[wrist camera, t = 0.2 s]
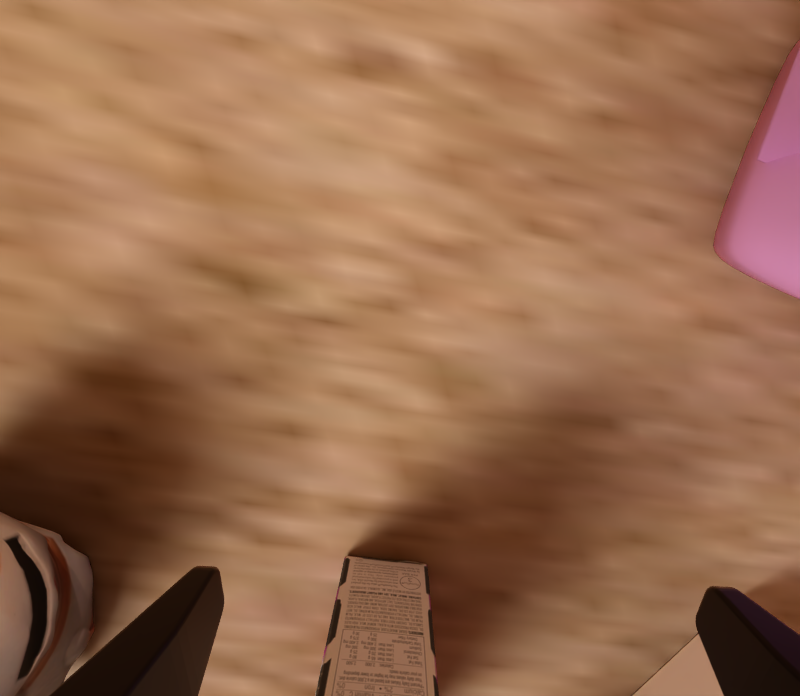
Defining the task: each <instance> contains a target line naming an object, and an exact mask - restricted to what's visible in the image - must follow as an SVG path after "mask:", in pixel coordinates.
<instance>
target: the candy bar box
mask: <svg viewBox="0 0 800 696" xmlns="http://www.w3.org/2000/svg"><path fill="white" fill-rule="evenodd" d="M315 696H439V693H438V682H437V669H436V659H435V648H434V636H433V625H432V611H431V602H430V590H429V577H428V568H427V565H426V564H424V563H419V562H411V561H392V560H381V559H374V558H366V557H354V556H346V557H345V559H344V563H343V568H342V573H341V578H340V582H339V587H338V591H337V596H336V600H335V605H334V609H333V614H332V619H331V624H330V628H329V633H328V638H327V643H326V647H325V651H324V656H323V660H322V665H321V671H320V676H319V681H318V685H317V690H316V694H315Z"/></svg>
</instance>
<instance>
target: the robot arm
mask: <svg viewBox="0 0 800 696" xmlns="http://www.w3.org/2000/svg"><path fill="white" fill-rule="evenodd" d="M223 607H224V594H223V588H222V582H221V576H220V571H219V569H218V568H217V567H212V566H197V567H194V568H193V569H191V570H190V571H189V572H188V573H187V574H186V575H184V576H183V577H182V578H181V579H180V580H179V581H178V582H177V583H175V584H174V585H173V586H172V587H171V588H170V589H169V590H167V591H166V592H165V593H164V594H163V595H162V596H161V597H160V598H158V599H157V600H156V601H155V602H154V603H153V604H152V605H151V606H149V607H148V608H147V609H146V610H145V611H144V612H143V613H141V614H140V615H139V616H138V617H137V618H136V619H135V620H134V621H132V622H131V623H130V624H129V625H128V626H127V627H126V628H125V629H123V630H122V631H121V632H120V633H119V634H118V635H117V636H115V637H114V638H113V639H112V640H111V641H110V642H109V643H108V644H106V645H105V646H104V647H103V648H102V649H101V650H100V651H99V652H97V653H96V654H95V655H94V656H93V657H92V658H91V659H89V660H88V661H87V662H86V663H85V664H84V665H83V666H82V667H80V668H79V669H78V670H77V671H76V672H75V673H74V674H73V675H71V676H70V677H69V678H68V679H67V680H66V681H65V682H64V683H62V684H61V685H60V686H59V687H58V688H57V689H56V690H54V691H53V692H52V693H51V694H50V695H49V696H198V694H199V690H200V687H201V684H202V680H203V677H204V673H205V670H206V667H207V663H208V660H209V656H210V653H211V650H212V646H213V643H214V639H215V636H216V632H217V629H218V626H219V622H220V619H221V615H222V612H223ZM696 627H697V631H698V634H699V636H700V639H701V641H702V644H703V646H704V649H705V651H706V654H707V656H708V659H709V661H710V663H711V666H712V668H713V671H714V673H715V676H716V678H717V681H718V683H719V686H720V688H721V691H722V693H723V696H800V635H799V634H797V633H796V632H795V631H793V630H792V629H791V628H789V627H788V626H787V625H785V624H784V623H782V622H781V621H780V620H778V619H777V618H776V617H774V616H773V615H771V614H770V613H769V612H767V611H766V610H765V609H763V608H762V607H761V606H759V605H758V604H756V603H755V602H754V601H752V600H751V599H750V598H748V597H747V596H745V595H744V594H743V593H741V592H740V591H738V590H737V589H735V588H732V587H719V586H712V587H709V588H708V589H707V590H706V592H705V594H704V597H703V599H702V602H701V604H700V607H699V610H698V612H697V615H696Z"/></svg>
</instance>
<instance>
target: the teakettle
mask: <svg viewBox="0 0 800 696" xmlns="http://www.w3.org/2000/svg"><path fill="white" fill-rule="evenodd" d="M713 246H714V249H715V252H716V253H717V255H718V256H719V257H720V258H721V259H722V260H723V261H725V262H726V263H728V264H729V265H730V266H732V267H734V268H735V269H737V270H739V271H741V272H743V273H745V274H746V275H748V276H750V277H752V278H754V279H756V280H758V281H760V282H763V283H765V284H767V285H769V286H771V287H773V288H775V289H778V290H780V291H782V292H784V293H787V294H789V295H791V296H793V297H796V298H798V299H800V40H799V41H798V42H797V43H796V45H795V46H794V48H793V49H792V50H791V52H790V53H789V55H788V57H787V59H786V61H785V63H784V65H783V67H782V69H781V71H780V73H779V75H778V77H777V79H776V81H775V83H774V85H773V88H772V90H771V92H770V94H769V97H768V99H767V101H766V103H765V106H764V108H763V110H762V112H761V115H760V117H759V119H758V121H757V124H756V126H755V129H754V131H753V133H752V136H751V138H750V140H749V143H748V145H747V148H746V150H745V153H744V155H743V158H742V160H741V163H740V165H739V168H738V171H737V173H736V176H735V178H734V181H733V184H732V187H731V189H730V192H729V195H728V197H727V200H726V203H725V205H724V208H723V211H722V214H721V217H720V220H719V223H718V227H717V230H716V233H715V238H714V244H713Z"/></svg>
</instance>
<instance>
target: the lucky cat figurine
mask: <svg viewBox="0 0 800 696" xmlns="http://www.w3.org/2000/svg"><path fill="white" fill-rule="evenodd" d="M92 590H93V573H92V569H91V566H90V562H89V558H88V556H86V555H84V554H82V553H80V552H78V551H76V550H74V549H73V548H72V547H70V546H69V545H67V544H66V543H64V542H63V539H62V537H61V535H59V534H57V533H55V532H53V531H50V530H47V529H44V528H41V527H38V526H35V525H31V524H28V523H25V522H22V521H19V520H17V519H15V518H12V517H10V516H8V515H6V514H4V513H2V512H0V696H49V695H50V694H51V693H52V692H53V691H54V690H56V689H57V688H58V687H59V686H60V685H61V684H62V683H63V682H64V679H65V677H66V675H67V673H68V671H69V669H70V667H71V666H72V664H73V663H74V662H75V661H76V659H77V658H78V657H79V656H80V655H81V653H82V652H83V651H84V650H85V648H86V647H87V644H88V642H89V640H90V638H91V636H92V634H93V632H94V623H93V610H92Z"/></svg>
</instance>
